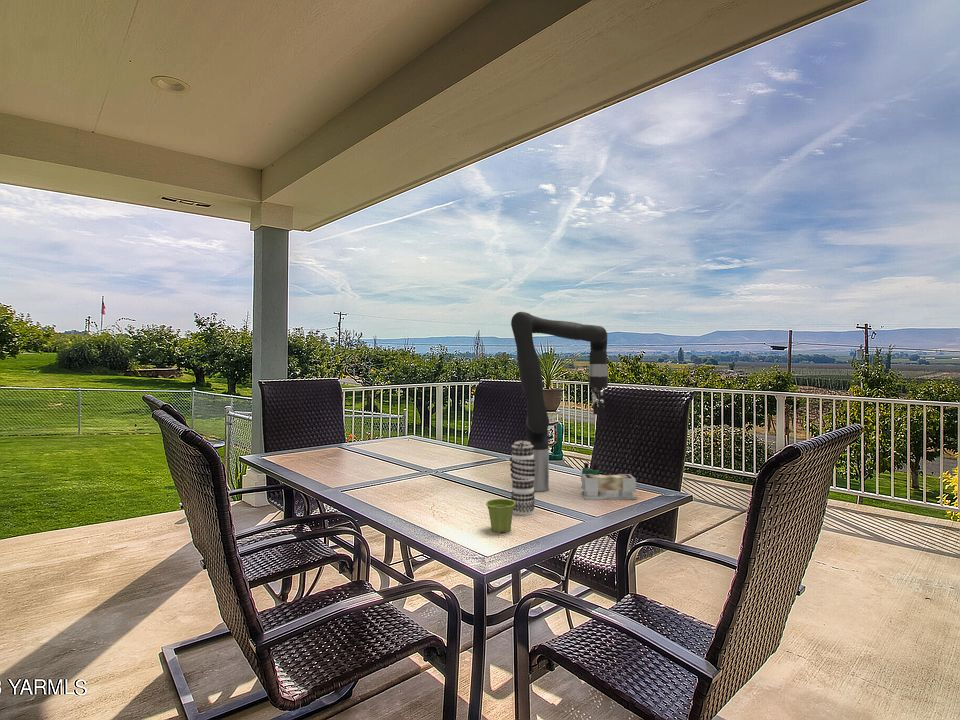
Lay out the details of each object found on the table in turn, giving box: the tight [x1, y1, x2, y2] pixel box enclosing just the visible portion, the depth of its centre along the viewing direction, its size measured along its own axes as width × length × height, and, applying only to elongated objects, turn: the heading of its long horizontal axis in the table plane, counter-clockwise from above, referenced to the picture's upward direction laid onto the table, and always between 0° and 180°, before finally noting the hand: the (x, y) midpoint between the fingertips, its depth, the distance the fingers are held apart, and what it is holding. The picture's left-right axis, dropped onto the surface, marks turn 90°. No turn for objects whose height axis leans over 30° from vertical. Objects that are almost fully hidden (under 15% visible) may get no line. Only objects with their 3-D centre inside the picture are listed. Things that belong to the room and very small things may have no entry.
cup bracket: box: [580, 473, 638, 500], centre depth 197 cm, size 20×8×8 cm, turn 88°
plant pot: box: [485, 498, 516, 533], centre depth 158 cm, size 9×9×9 cm
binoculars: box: [580, 462, 600, 489], centre depth 211 cm, size 9×11×10 cm
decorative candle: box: [509, 440, 536, 516], centre depth 178 cm, size 9×9×25 cm
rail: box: [588, 474, 629, 491], centre depth 197 cm, size 15×4×5 cm, turn 88°
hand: (598, 415), depth 201 cm, fingers open, 8 cm apart
